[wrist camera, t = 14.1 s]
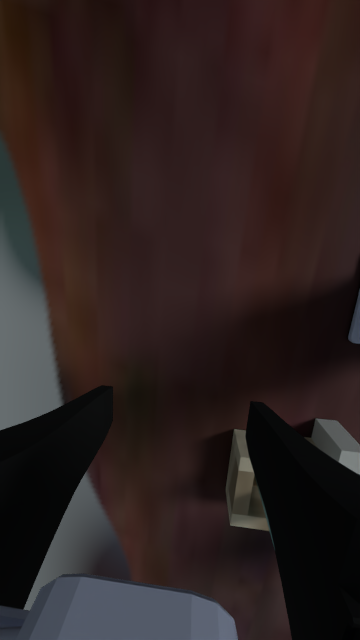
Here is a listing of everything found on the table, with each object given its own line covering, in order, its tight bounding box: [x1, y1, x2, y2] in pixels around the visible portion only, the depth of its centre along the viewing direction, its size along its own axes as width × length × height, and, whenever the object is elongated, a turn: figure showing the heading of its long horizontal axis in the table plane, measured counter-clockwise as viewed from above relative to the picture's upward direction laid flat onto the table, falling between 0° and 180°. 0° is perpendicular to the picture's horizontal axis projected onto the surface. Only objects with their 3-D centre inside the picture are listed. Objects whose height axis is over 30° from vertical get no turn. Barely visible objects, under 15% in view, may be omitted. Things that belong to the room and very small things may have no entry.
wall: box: [311, 419, 360, 475], centre depth 21 cm, size 2×12×4 cm, turn 176°
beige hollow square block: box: [226, 429, 318, 531], centre depth 21 cm, size 8×8×4 cm
